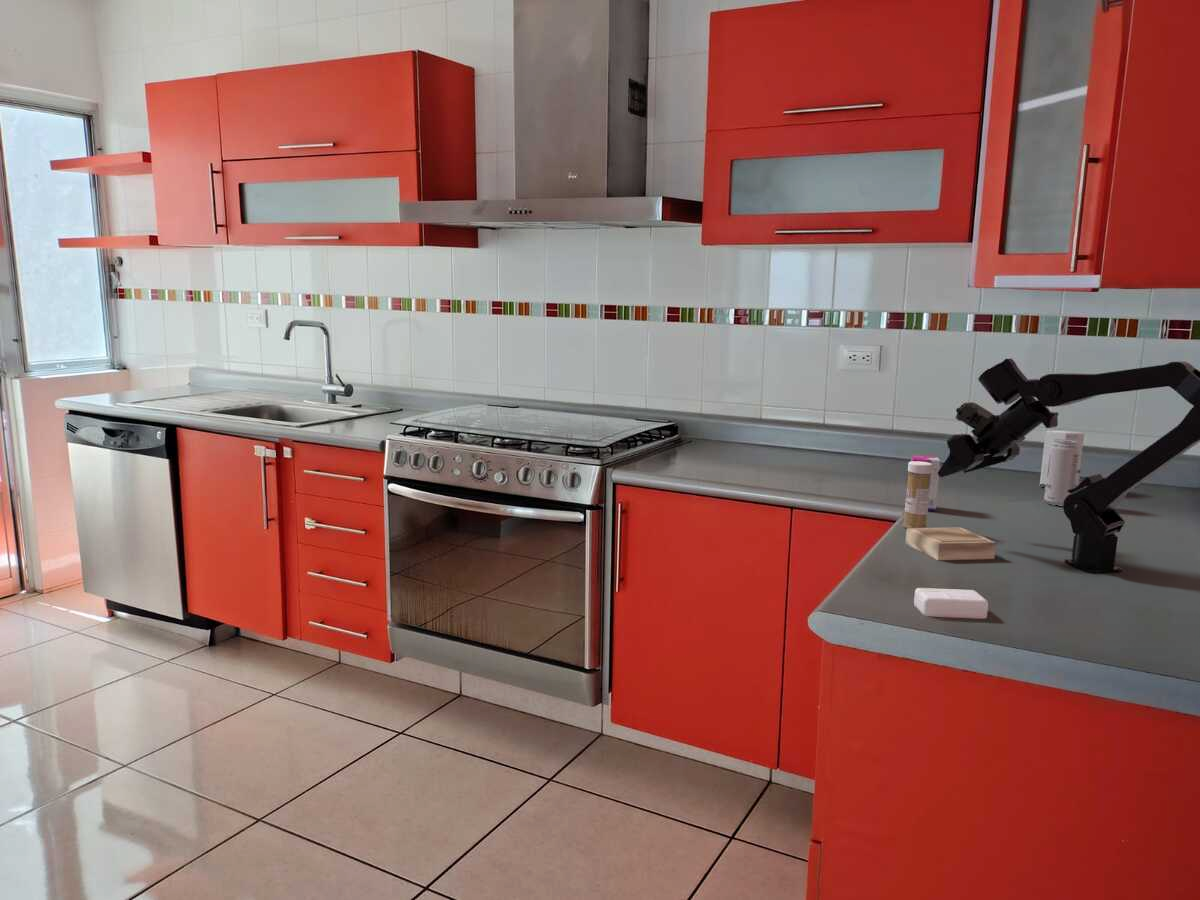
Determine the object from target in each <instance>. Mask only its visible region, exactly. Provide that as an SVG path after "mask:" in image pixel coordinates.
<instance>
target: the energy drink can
mask: <svg viewBox="0 0 1200 900" xmlns="http://www.w3.org/2000/svg"><path fill="white" fill-rule="evenodd" d="M1078 455H1079V448H1078V446H1077V442H1076V441H1072V440H1061V439H1056V440H1054V442H1053V444H1052V445H1051V446H1050V451H1049V460H1048V469H1047V478H1046V487H1045V488H1044V498H1043V499H1044V501H1045V502H1046V501H1047V502H1050V503H1055V504H1064V503H1063V501H1064V500H1065V498H1066V497H1067V496H1068V495H1069V494H1071V493H1069V492H1068V490H1071V489H1074V488H1075V481H1076V473H1077V464H1078Z"/></svg>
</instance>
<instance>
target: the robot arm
mask: <svg viewBox="0 0 1200 900" xmlns="http://www.w3.org/2000/svg"><path fill="white" fill-rule="evenodd" d="M977 380H978V382H979V383H980V384H981V386H982V387H983V388H984V389H985V390H986V392H987V393H988V394H989V395H990V397H991V399H993V400H994V401H995V403H996V404H997V405H999V404H1002V403H1003V404H1004V405H1006V406H1008V405H1010V404H1011V405H1010V406H1009V407H1008V408H1007V409H1005V410H1003V412H1001V413H1000V414H997V415H995V414H993V413H992V412H990V411H989V410H987V409H986V408H984V407H982V406H981V405H979V404H977V403H975V402H963V403H962V404H961V405H960V406H959V407H957V408H956V415H955V419H956V420H958V421H959V422H963V423H964V424H965V425H967V426H968V427H970V428H972V430H971V431H970V432H971V434H972V435H973V436H974V437H976V440H975V439H974V437H972V435H971V434H968V433H958V434H953V435H952V436H951V437H949V438H948V439H947V440H946V444H947V448H948V449H949V454H948V456H947V458H946V459H945V460H944V462H943V463H942V465H941V466H940V470H939V471H938V475H939V478H945V477H947V476H948V477H949V476H950V475H954V474H958V473H961V472H963V473H964V474H966V473H970V472H974V471H977V470H981V469H984V468H988V467H992V466H995V465H999V464H1002V463H1006V462H1008V461H1012V460H1014V459H1015V458H1016V457H1017V456H1019V455H1020V449H1021V447H1020V446H1019V445H1018V443H1022V442H1023V441H1025V440H1026V436H1027V435H1028V434H1029V433H1031V432H1032V431H1033V430H1035V429H1036V428H1037V427H1038V426H1041V424H1043V425H1044V427H1045V428H1046V429H1052V428H1057V427H1058V425H1059V422H1058V416H1059V415H1060V413H1059V412H1057V411H1056V412H1054V411H1051V410H1050V409H1049V408H1048V407H1050V408H1052V407H1053V408H1054V407H1062V406H1063V407H1064V406H1069V405H1073V404H1076V403H1079V402H1082V401H1086V400H1088V399H1091V398H1095V397H1098V396H1102V395H1110V394H1118V393H1127V392H1133V391H1142V390H1149V389H1157V388H1165V387H1170V388H1171V389H1172V390H1174V391H1175V392H1177V394H1179V396H1181V397H1182V399H1184V400H1185V401H1186V402H1187V403H1188V404H1190V405H1192V408H1191V409H1190V410H1189V411H1188V413H1186V415H1185V416H1184V417H1183V419H1182V420H1181V421H1180V422H1179V424H1178V425H1176V426H1175V427H1174V428H1172V429H1170V430H1169V431H1168V432H1167V433H1165V434H1164V435H1163V436H1161V437H1160V438H1158V439H1156V441H1154V442H1153V443H1151V444H1150V445H1149V446H1148V447H1146V448H1145V449H1143V450H1142V451H1140V452H1139V453H1138V454H1137V455H1134V457H1132V458H1131V459H1129V460H1128V461H1127V462H1125V463H1124V464H1122V465H1121V466H1120V467H1119V468H1117V469H1116V470H1115V471H1113V472H1111V473H1110V474H1109V475H1107V476H1106V477H1103V476H1102V475H1101V474H1100V473H1097V474H1095V475H1090V476H1087V477H1085V478H1084V479H1083V480H1082V481H1081V482H1079V485H1078V486H1077V487H1075V488H1074V489H1071V490H1068V492H1069V493H1071V494H1069V495H1068V496H1067V497H1066V498H1065V500H1064V501H1063V503H1064V504H1063V507H1062V509H1063V513H1064V515H1065V516H1066V518H1067V519H1068V520H1069V522H1070V526H1071V530H1072V533H1073V534H1074V536H1073V544H1072V551H1071V552H1072V553H1071V559H1069V558H1068V559H1064V563H1066V564H1068V565H1070V566H1073V567H1076V568H1078V569H1080V570H1082V571H1086V572H1087V573H1113V572H1114V573H1116V572H1120V573H1121V572H1122V570H1123V569H1122V568H1121V567H1119V566H1115V563H1116V555H1117V548H1118V540H1119V537H1118V536H1117V535H1116V533H1120V532H1121V531H1122V529H1123V527H1124V525H1125V524H1126V521H1125V519H1124V518H1123V516H1121V515H1120V513H1119V512H1117V510H1116V508H1117V506H1119V505H1120V504H1121V502H1122V501H1123V499H1124V498H1125V497H1126V496H1127V494H1128V493H1129V492H1130V491H1132V490H1133V489H1135V488H1136V487H1137V486H1139V485H1140V484H1142V483H1143V482H1144V481H1146V480H1148V479H1149V478H1150V477H1152V476H1153V475H1155V474H1156V473H1157V472H1158V471H1160V470H1162V469H1163V468H1165V467H1166V466H1167V465H1169V464H1170V463H1172V462H1173V461H1174V460H1176V459H1177V458H1179V457H1180V456H1182V455H1183V454H1184V453H1186V452H1187V451H1188V450H1190V449H1191V448H1193V447H1194V446H1196V445H1197V444H1199V443H1200V370H1199V369H1197V368H1196V367H1194V366H1193V365H1192V364H1191V363H1189V362H1188V361H1187V362H1186V361H1171V362H1167V363H1165V364H1160V365H1152V366H1146V367H1138V368H1137V367H1136V368H1130V369H1124V370H1116V371H1109V372H1103V373H1101V372H1100V373H1077V372H1076V373H1071V372H1070V373H1068V372H1065V373H1048V374H1045V375H1043V376H1041V377H1039V378H1035V379H1034V378H1032V379H1028V378H1027V377H1026V375H1025V374H1024V373H1023V372H1022V371H1021V369H1019V367H1018V365H1017V363H1016V361H1015V360H1014V358H1005V359H1004V360H1002V362H999V363H997V364H995V365H993V366H991V368H987V369H986V370H985V371H983V372H982V373H981V374H980V375H979V377H978V378H977Z"/></svg>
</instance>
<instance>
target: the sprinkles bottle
mask: <svg viewBox="0 0 1200 900" xmlns="http://www.w3.org/2000/svg"><path fill="white" fill-rule="evenodd" d="M907 471H908V472H907V473H908V477H907V486H906V493H905V495H906V496H905V503H904V504H905V505H904V514H903V515H904V516H903V523H902V526H903V528H905V529H907V528H927V518H928V517H927V516H928V512H929V511H928V502H929V492H930V476H931V473H932V464H931V463H928V462H921V461H911V460H910V461H909V462H908V465H907Z"/></svg>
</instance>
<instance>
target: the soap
mask: <svg viewBox="0 0 1200 900" xmlns="http://www.w3.org/2000/svg"><path fill="white" fill-rule="evenodd" d="M913 600H914V601H913V605H914V606H915V607H916V609H917V610H918V611H919V612H921V614H922V616H925V617H934V618H935V617H936V618H937V617H938V618H954V619H955V618H957V619H958V618H959V619H961V618H962V619H978V620H979V619H981V620H983V619H984V620H986V618H987V617H988V610H989V609H988V608H989V602H988V600H987V599H985V598H984V597H983V595H981V594H979V592H977V591H976V590H974V589H957V588H955V589H954V588H953V589H952V588H931V587H930V588H928V587H917V588H916V589H915V591H914V599H913Z"/></svg>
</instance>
